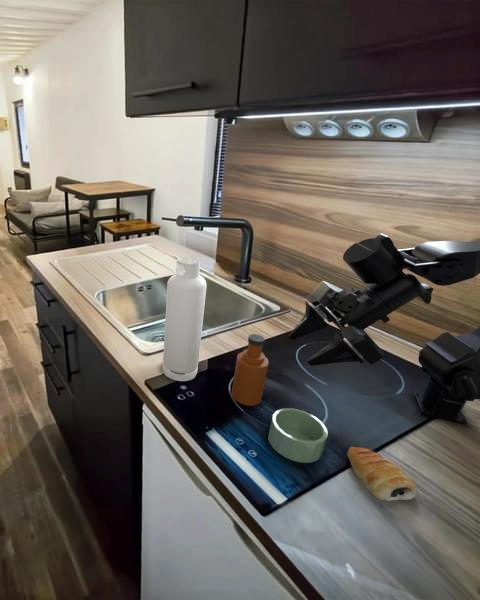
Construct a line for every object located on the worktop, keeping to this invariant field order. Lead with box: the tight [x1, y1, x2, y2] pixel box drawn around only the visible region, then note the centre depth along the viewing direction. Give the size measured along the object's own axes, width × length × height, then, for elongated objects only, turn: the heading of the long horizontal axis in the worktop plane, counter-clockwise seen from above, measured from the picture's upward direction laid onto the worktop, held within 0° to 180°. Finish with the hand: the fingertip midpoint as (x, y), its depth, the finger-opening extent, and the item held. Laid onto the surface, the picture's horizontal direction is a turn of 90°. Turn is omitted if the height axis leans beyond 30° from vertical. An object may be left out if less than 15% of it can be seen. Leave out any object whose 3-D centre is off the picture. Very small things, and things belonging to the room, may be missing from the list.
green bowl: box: [267, 407, 329, 464], centre depth 64 cm, size 8×8×5 cm
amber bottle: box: [230, 333, 270, 407], centre depth 74 cm, size 6×6×15 cm
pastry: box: [346, 446, 418, 502], centre depth 58 cm, size 9×7×4 cm
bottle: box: [162, 255, 208, 382], centre depth 81 cm, size 8×8×28 cm
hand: (298, 350), depth 71 cm, fingers open, 9 cm apart
